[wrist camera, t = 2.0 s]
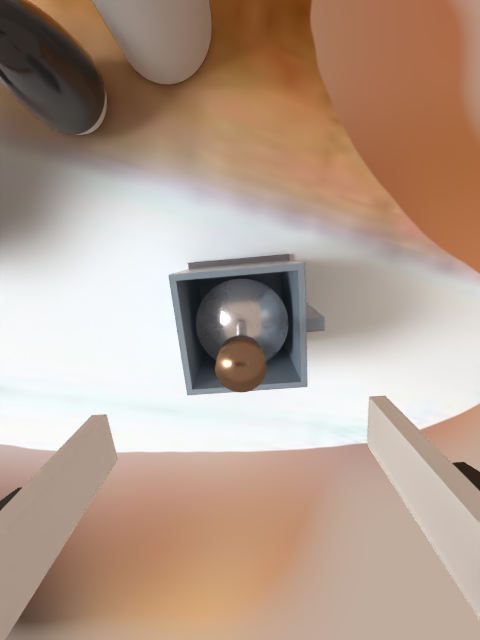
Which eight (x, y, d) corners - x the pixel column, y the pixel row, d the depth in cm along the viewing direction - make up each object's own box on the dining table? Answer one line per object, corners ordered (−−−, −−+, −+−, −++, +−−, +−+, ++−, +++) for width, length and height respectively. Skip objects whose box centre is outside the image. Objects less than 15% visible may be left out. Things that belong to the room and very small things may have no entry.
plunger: (202, 368, 34) (178, 437, 21) (191, 282, 31) (154, 302, 18) (288, 362, 34) (316, 428, 21) (285, 274, 31) (314, 288, 18)
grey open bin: (201, 354, 45) (181, 401, 31) (189, 263, 41) (159, 267, 27) (300, 347, 44) (327, 391, 30) (298, 253, 40) (327, 252, 26)
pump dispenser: (128, 81, 35) (44, -44, 20) (106, 159, 37) (17, 97, 23) (56, 44, 34) (-87, -117, 19) (39, 126, 36) (-101, 39, 22)
